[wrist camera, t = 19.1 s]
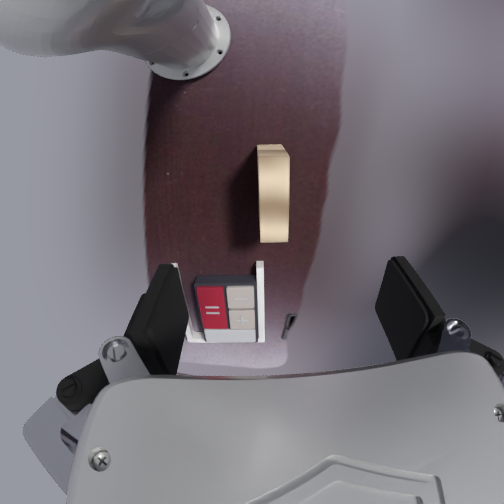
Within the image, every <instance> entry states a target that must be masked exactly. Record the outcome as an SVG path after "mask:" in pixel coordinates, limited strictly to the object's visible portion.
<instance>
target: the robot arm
mask: <svg viewBox="0 0 504 504" xmlns="http://www.w3.org/2000/svg"><path fill="white" fill-rule="evenodd" d="M218 19H221V20H220V21H217V20H218ZM230 43H231V32H230V27H229V24H228V22H227V21H226V19H225V17H224V16H223V15H222V14H221V13H220V12H219V11H217V10H216V9H214V8H213V7H210V6H208V5H205V3H204V1H203V0H0V45H2V46H4V47H5V48H6V49H9V50H11V51H13V52H16V53H19V54H23V55H30V56H37V57H52V56H65V55H72V54H78V53H84V52H89V51H95V50H106V51H112V52H117V53H121V54H125V55H129V56H132V57H136V58H139V59H142V60H145V62H146V64H147V65H148V67H149V68H150V69H151V70H152V71H153V72H154V73H156V74H158V75H160V76H162V77H164V78H167V79H172V80H190V79H194V78H197V77H200V76H202V75H204V74H206V73H208V72H210V71H211V70H213V69H214V68H215V67H216V66H217V65H218V64H220V62H221V61H222V60H223V58H224V57H225V55H226V54H227V52H228V50H229V46H230ZM219 52H222V54H221V55H220V54H219ZM153 63H155V64H154V65H153ZM186 73H188V74H189V75H188V76H186ZM375 310H376V313H377V315H378V317H379V320H380V322H381V324H382V326H383V329H384V331H385V333H386V336H387V338H388V340H389V342H390V345H391V347H392V350H393V352H394V354H395V357H396V360H397V361H394V362H388V363H383V364H377V365H371V366H364V367H357V368H350V369H342V370H334V371H326V372H315V373H303V374H290V375H271V376H189V375H176V374H177V369H178V364H179V360H180V355H181V351H182V346H183V342H184V338H185V333H186V329H187V325H188V321H189V312H188V308H187V304H186V300H185V296H184V292H183V288H182V284H181V279H180V275H179V271H178V268H177V267H174V265H173V264H160V265H159V266H158V269H157V271H156V273H155V275H154V277H153V279H152V281H151V283H150V286H149V288H148V290H147V292H146V294H143V295H142V296H141V298H140V300H139V302H138V304H137V307H136V309H135V311H134V313H133V315H132V318H131V320H130V322H129V324H128V327H127V329H126V332H125V334H124V336H123V337H122V336H115V337H112V338H109V339H108V340H106V341H105V342H104V343H103V344H102V345H101V347H100V349H99V353H98V354H99V359H98V360H96V361H94V362H92V363H90V364H89V365H87V366H85V367H83V368H82V369H80V370H78V371H76V372H74V373H73V374H71V375H69V376H67V377H65V378H64V379H63V380H61V382H60V383H59V384H58V387H57V391H56V395H57V396H56V397H55V398H54V399H53V398H52V397H51V398H50V399H48V401H46V402H45V404H43V405H42V406H41V407H40V408H39V409H38V410H37V411H36V412H35V413H34V414H33V415H32V416H31V417H30V418H29V419H28V420H27V422H26V423H25V424H24V427H23V435H24V437H25V440H26V441H27V443H28V444H29V446H30V447H31V449H32V450H33V452H34V453H35V455H36V456H37V458H38V459H39V460H40V462H41V463H42V465H43V466H44V467H45V468H46V470H47V471H48V473H49V474H50V475H51V477H52V478H53V479H54V480H55V482H56V483H57V484H58V485H59V487H60V488H61V489H62V490H63V491H64V492H65V493H66V495H67V501H66V504H504V359H503V357H502V356H501V355H500V354H499V353H498V352H496V351H495V350H493V349H491V348H489V347H487V346H485V345H483V344H481V343H479V342H477V341H475V340H473V339H471V331H470V328H469V327H468V325H467V324H466V323H464V322H463V321H461V320H459V319H456V318H451V319H448V320H447V321H446V320H445V318H444V317H445V313H444V312H443V310H442V309H441V307H440V305H439V304H438V302H437V301H436V300H435V298H434V297H433V295H432V294H431V292H430V291H429V289H428V288H427V287H426V285H425V284H424V282H423V281H422V279H421V278H420V277H419V275H418V274H417V273H416V271H415V270H414V269H413V268H412V266H411V265H410V263H409V262H408V261H407V259H406V258H405V257H404V256H397V257H392V258H391V260H389V261H388V263H387V266H386V270H385V274H384V277H383V281H382V284H381V288H380V291H379V295H378V298H377V301H376V305H375Z"/></svg>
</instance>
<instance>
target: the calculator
mask: <svg viewBox="0 0 504 504" xmlns="http://www.w3.org/2000/svg"><path fill="white" fill-rule="evenodd" d="M194 289H195V294H196V300H197V305H198V310H199V316H200V321H201V326H202V330H203V335H204V340H205V342H218V343H254V342H258V312H257V276H256V275H218V276H197V277H196V280H195V283H194Z"/></svg>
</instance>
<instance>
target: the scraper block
mask: <svg viewBox="0 0 504 504" xmlns="http://www.w3.org/2000/svg"><path fill="white" fill-rule="evenodd" d="M257 159H258V193H259V222H260V241H261V243H263V242H288V223H289V163H290V157H289V155H288V154H287V152H286V151H285V149H284V147H283V146H282V145H257Z"/></svg>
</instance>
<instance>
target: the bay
mask: <svg viewBox="0 0 504 504" xmlns="http://www.w3.org/2000/svg"><path fill="white" fill-rule="evenodd" d="M171 264H173V265H174V267H177V268H178V264H177V263H171ZM178 271H179V269H178ZM256 271H257V300H258V330H259V332H258V342H265V331H264V265H263V261H256ZM179 275H180V273H179ZM180 279H181V278H180ZM181 284H182V282H181ZM182 288H183V286H182ZM183 292H184V291H183ZM184 296H185V295H184ZM185 300H186V299H185ZM186 304H187V303H186ZM187 308H188V307H187ZM188 312H189V311H188ZM186 336H187V339H188V342H204V343H218V342H205V340H204V335H203V332H194V330H193V326H192V322H191V319H190V315H189V321H188V325H187V329H186Z"/></svg>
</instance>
